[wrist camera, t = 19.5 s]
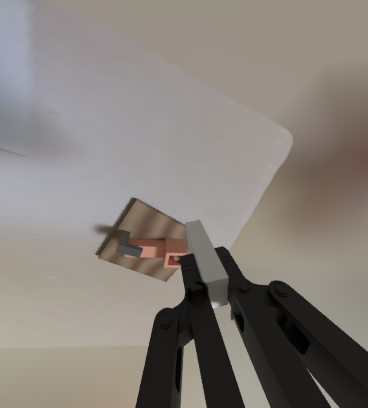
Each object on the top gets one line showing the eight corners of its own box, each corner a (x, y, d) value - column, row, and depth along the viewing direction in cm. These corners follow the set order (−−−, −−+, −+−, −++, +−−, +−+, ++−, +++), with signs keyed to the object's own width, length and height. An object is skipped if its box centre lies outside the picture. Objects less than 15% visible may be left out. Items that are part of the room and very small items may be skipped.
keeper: (121, 234, 43) (115, 252, 37) (124, 227, 42) (118, 244, 36) (141, 239, 45) (139, 257, 39) (144, 233, 44) (142, 250, 38)
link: (126, 251, 45) (122, 267, 39) (127, 236, 43) (123, 251, 37) (179, 252, 48) (182, 267, 43) (182, 239, 46) (186, 253, 41)
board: (99, 255, 45) (98, 258, 44) (136, 198, 39) (136, 200, 38) (165, 278, 54) (166, 281, 53) (204, 235, 48) (205, 237, 47)
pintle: (170, 246, 48) (172, 261, 43) (174, 242, 48) (176, 256, 42) (175, 248, 49) (177, 263, 43) (178, 244, 48) (181, 259, 43)
